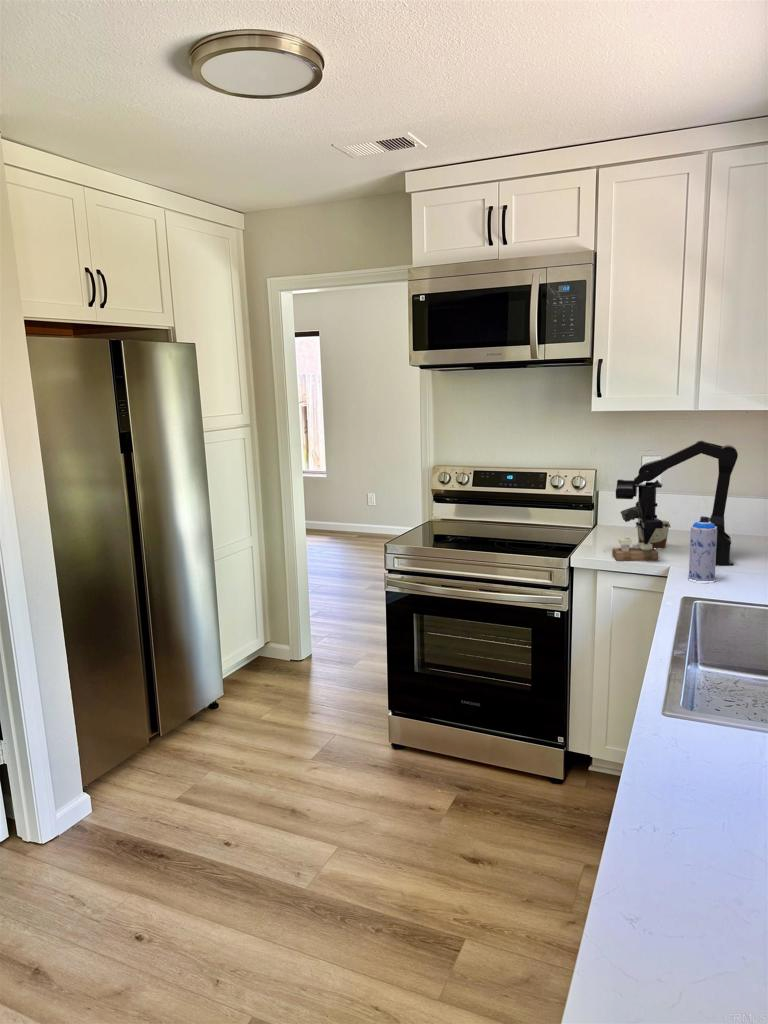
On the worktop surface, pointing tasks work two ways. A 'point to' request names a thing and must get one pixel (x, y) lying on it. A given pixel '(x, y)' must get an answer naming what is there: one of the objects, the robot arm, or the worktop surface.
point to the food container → (656, 536)
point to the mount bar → (635, 554)
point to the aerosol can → (703, 550)
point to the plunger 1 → (625, 543)
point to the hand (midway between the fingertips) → (645, 543)
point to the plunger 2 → (645, 546)
